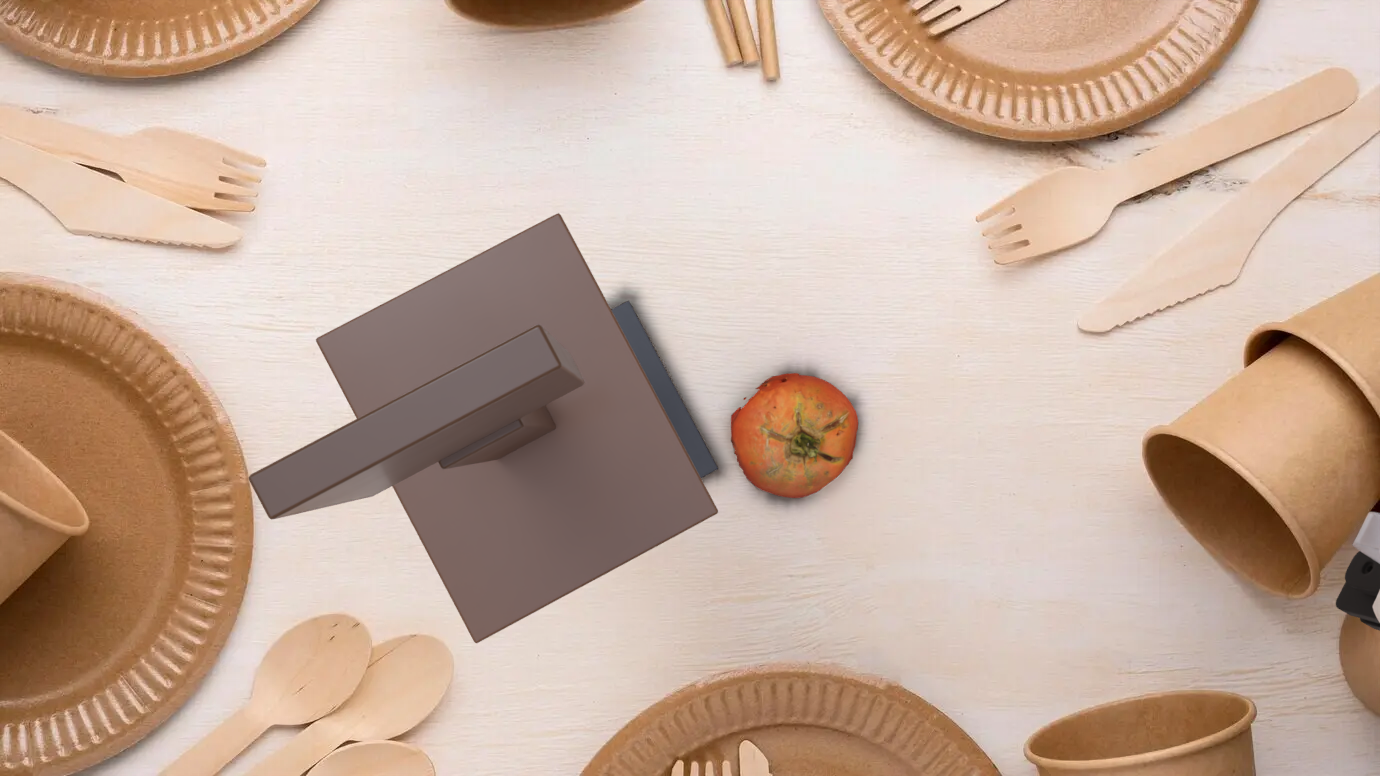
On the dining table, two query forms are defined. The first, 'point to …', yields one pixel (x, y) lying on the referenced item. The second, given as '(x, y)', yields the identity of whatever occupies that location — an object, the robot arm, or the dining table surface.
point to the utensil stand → (507, 429)
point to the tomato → (794, 435)
